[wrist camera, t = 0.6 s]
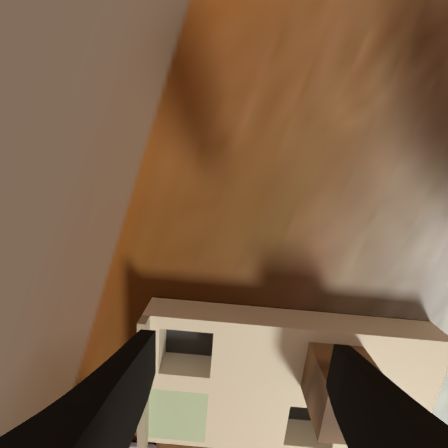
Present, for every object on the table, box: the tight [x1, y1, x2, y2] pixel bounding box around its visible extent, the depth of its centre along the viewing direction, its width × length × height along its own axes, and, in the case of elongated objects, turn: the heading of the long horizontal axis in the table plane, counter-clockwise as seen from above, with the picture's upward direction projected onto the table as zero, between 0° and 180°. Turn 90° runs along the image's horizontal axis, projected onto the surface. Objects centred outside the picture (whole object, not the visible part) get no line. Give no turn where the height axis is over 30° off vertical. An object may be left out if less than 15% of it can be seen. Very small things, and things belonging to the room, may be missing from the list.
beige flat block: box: [137, 297, 448, 448], centre depth 21 cm, size 12×23×4 cm, turn 85°
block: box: [301, 342, 381, 445], centre depth 17 cm, size 4×4×4 cm
